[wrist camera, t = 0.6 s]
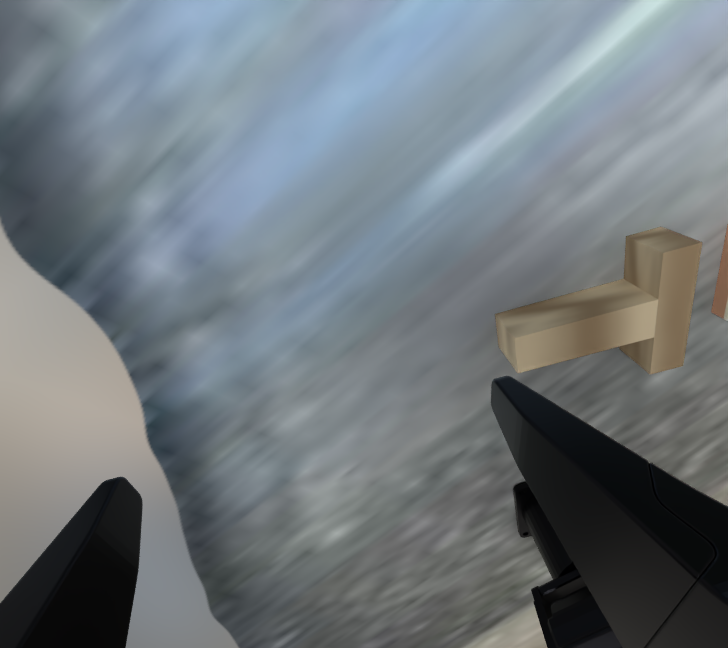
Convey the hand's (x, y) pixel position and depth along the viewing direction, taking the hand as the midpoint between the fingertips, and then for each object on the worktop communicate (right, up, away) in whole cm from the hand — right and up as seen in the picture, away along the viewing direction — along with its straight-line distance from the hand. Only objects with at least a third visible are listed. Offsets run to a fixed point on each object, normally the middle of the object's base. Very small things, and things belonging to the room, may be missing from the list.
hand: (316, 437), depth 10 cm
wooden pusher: (+13, +3, +16) cm, 21 cm away
